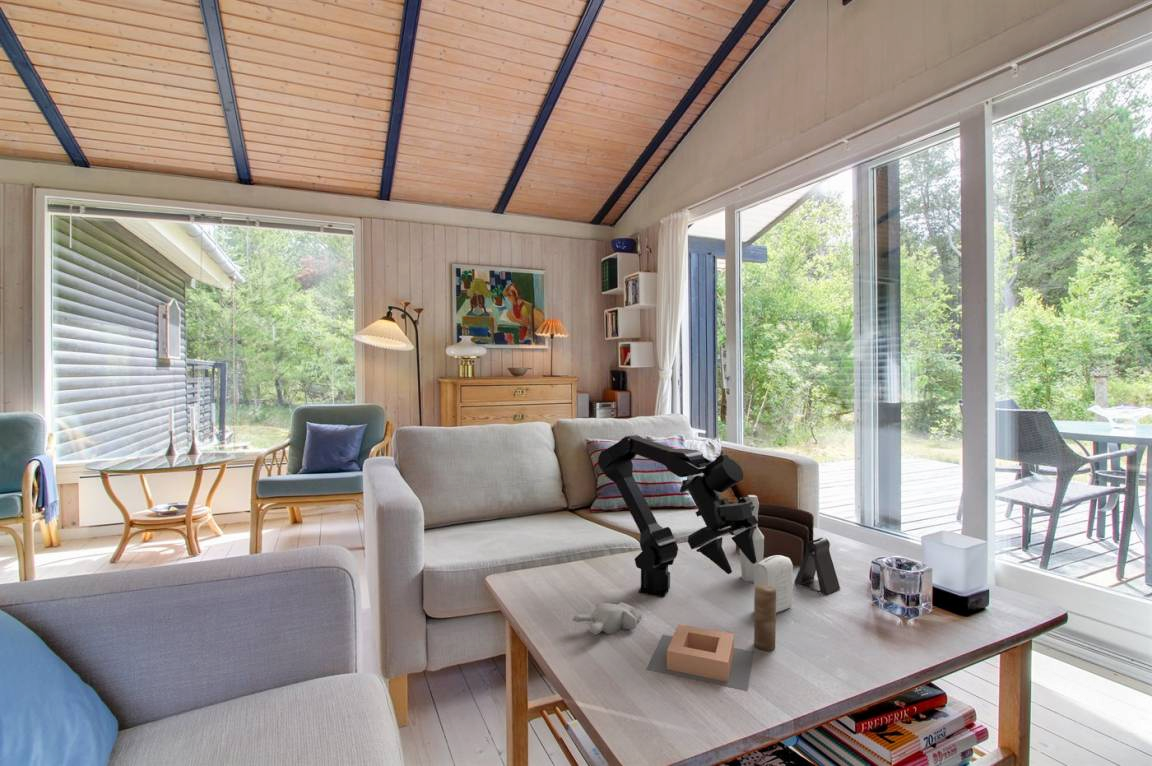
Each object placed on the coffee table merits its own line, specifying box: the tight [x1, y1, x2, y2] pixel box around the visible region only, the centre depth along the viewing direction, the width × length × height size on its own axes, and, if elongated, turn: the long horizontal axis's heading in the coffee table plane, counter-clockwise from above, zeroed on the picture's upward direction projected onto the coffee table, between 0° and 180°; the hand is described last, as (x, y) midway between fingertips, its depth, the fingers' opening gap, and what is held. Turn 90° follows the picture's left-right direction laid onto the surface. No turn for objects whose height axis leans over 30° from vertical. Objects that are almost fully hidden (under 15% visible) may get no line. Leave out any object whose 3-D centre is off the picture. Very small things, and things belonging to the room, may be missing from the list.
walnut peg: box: [753, 585, 777, 652], centre depth 111 cm, size 4×4×12 cm
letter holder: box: [735, 502, 815, 566], centre depth 165 cm, size 10×20×14 cm, turn 50°
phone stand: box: [793, 537, 841, 596], centre depth 142 cm, size 9×6×12 cm, turn 35°
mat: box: [646, 634, 754, 692], centre depth 106 cm, size 18×14×1 cm
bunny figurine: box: [572, 601, 643, 635], centre depth 119 cm, size 10×5×15 cm
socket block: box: [667, 624, 735, 682], centre depth 106 cm, size 11×11×4 cm
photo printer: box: [753, 555, 794, 614], centre depth 128 cm, size 10×4×12 cm, turn 123°
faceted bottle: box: [738, 494, 764, 583], centre depth 146 cm, size 6×6×22 cm
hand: (742, 568), depth 119 cm, fingers open, 9 cm apart
